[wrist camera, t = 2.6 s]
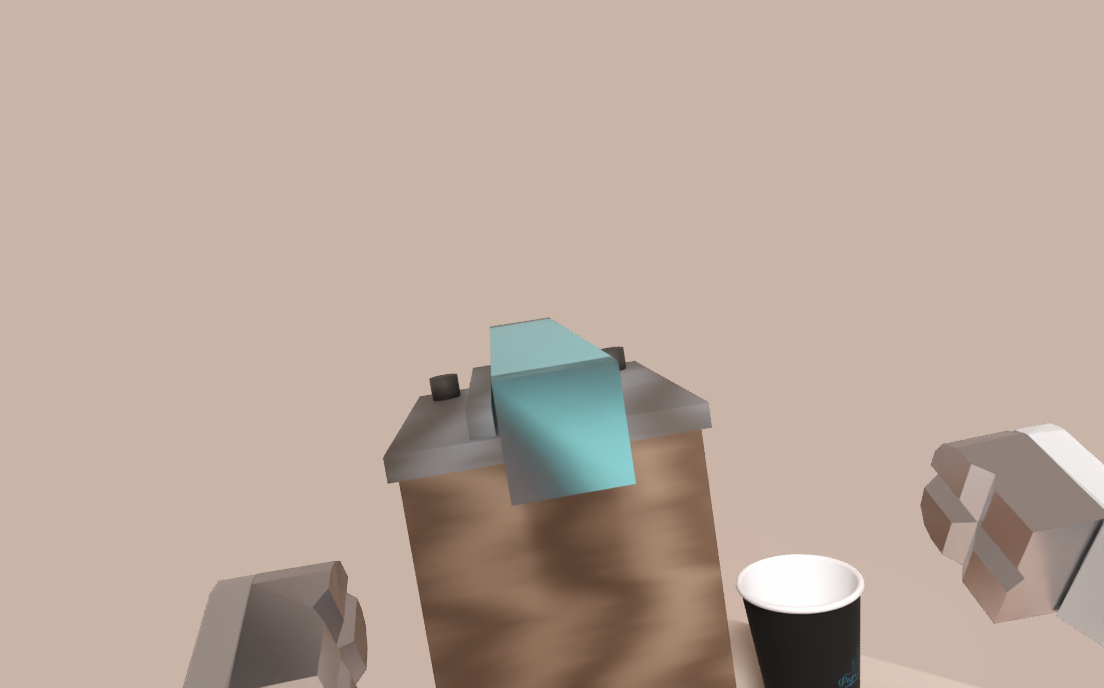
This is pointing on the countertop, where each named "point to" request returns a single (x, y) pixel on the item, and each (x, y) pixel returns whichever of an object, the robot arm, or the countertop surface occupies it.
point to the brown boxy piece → (564, 550)
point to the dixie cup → (804, 620)
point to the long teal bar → (558, 412)
